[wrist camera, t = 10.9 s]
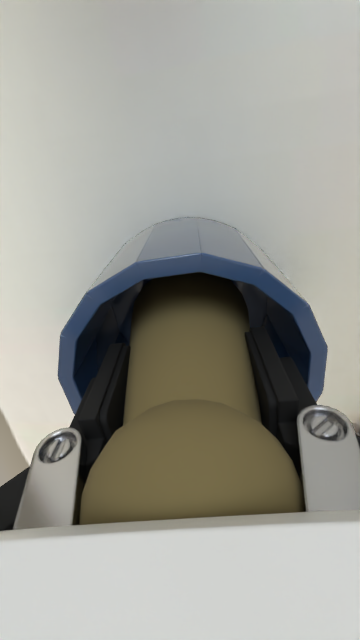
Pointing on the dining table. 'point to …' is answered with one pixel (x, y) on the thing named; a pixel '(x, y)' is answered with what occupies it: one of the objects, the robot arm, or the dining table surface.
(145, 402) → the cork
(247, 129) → the dining table surface
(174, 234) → the crock
